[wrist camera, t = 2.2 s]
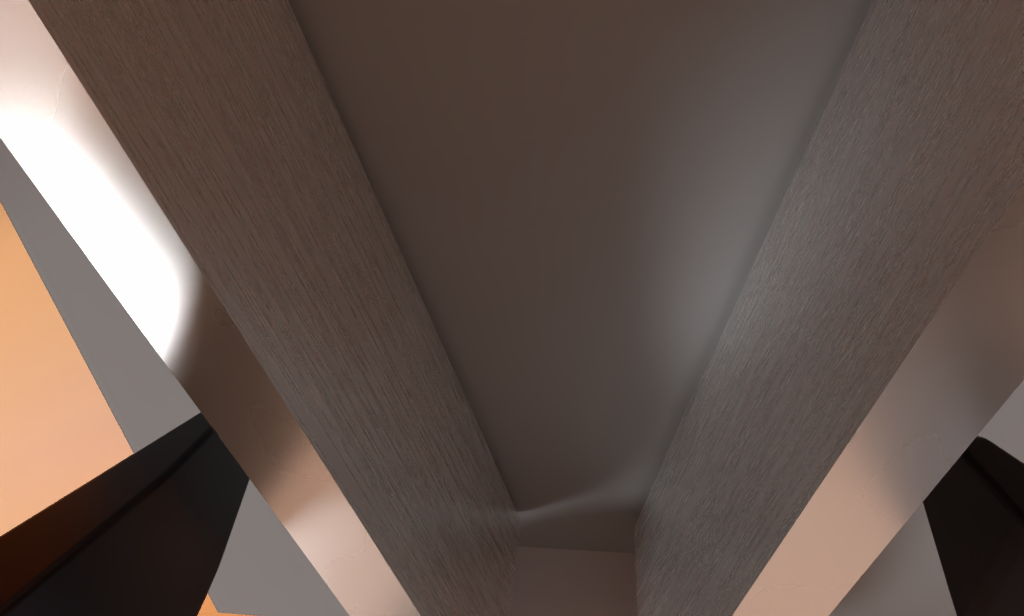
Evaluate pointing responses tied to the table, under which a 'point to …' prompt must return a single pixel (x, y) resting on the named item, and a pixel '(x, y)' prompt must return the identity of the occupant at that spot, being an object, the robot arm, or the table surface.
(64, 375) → the table surface
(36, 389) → the table surface
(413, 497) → the tong leg
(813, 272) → the tong leg
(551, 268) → the tong mat
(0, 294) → the table surface
